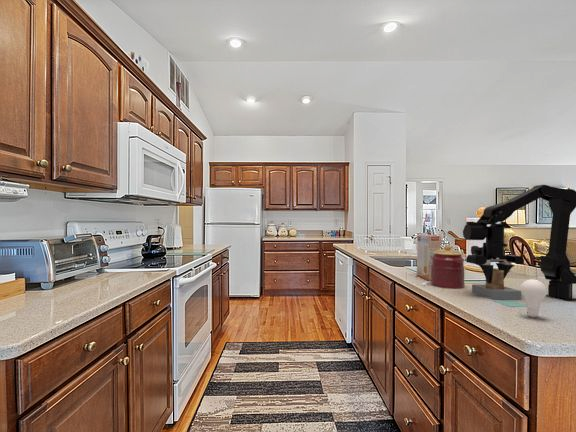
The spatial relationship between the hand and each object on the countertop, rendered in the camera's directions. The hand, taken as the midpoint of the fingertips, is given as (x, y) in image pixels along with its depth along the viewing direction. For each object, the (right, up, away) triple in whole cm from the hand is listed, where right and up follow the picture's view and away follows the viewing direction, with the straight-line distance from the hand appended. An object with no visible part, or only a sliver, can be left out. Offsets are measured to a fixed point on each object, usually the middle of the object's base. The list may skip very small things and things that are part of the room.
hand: (494, 283), depth 120 cm
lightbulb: (-4, -5, -25) cm, 25 cm away
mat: (-2, -5, -11) cm, 12 cm away
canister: (-8, -5, +18) cm, 21 cm away
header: (0, -5, 0) cm, 5 cm away
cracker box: (-8, -6, +37) cm, 39 cm away
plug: (0, -4, 0) cm, 4 cm away
